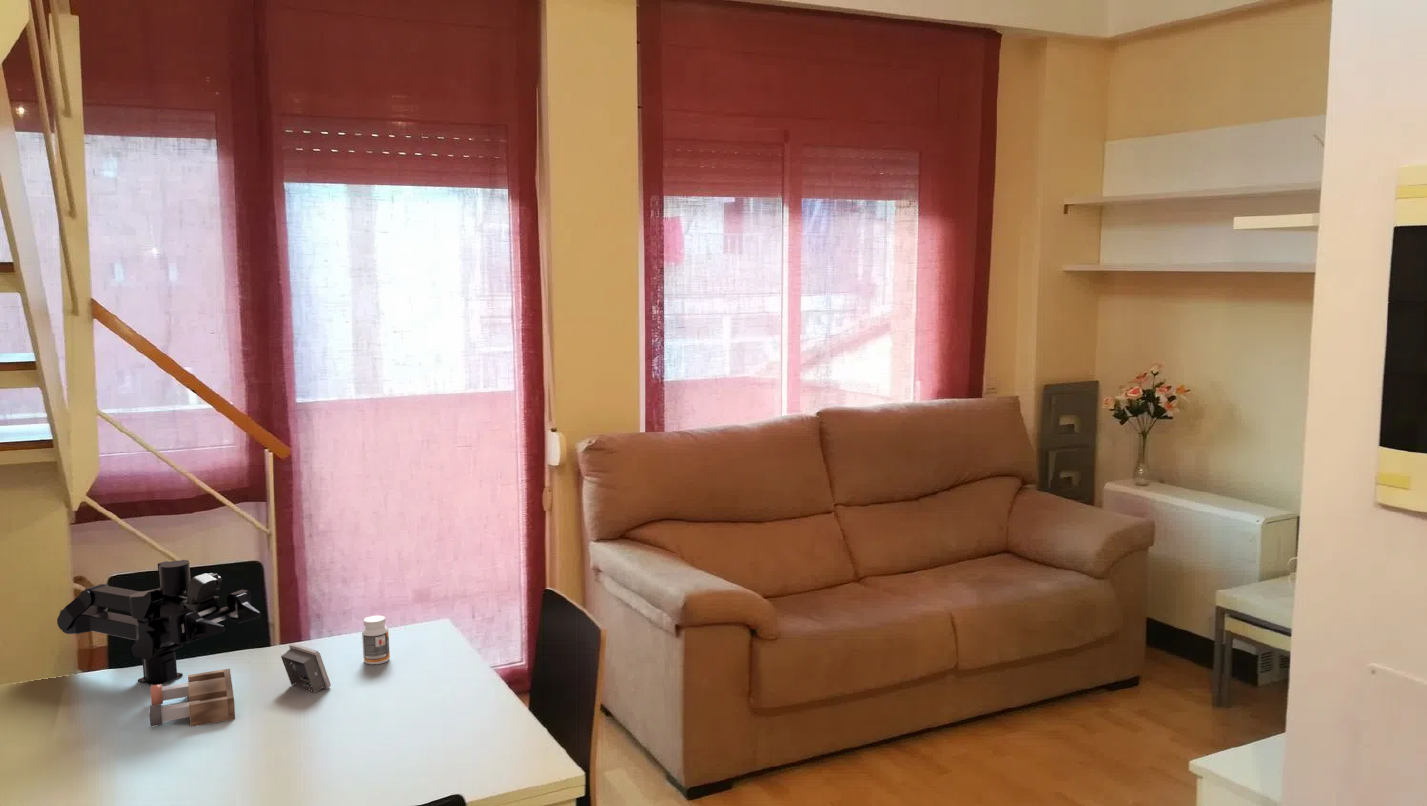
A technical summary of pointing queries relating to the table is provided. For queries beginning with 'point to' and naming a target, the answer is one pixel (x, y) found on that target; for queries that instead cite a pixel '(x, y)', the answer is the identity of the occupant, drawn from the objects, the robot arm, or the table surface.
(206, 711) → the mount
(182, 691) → the red knob
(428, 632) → the table surface
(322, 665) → the electrical switch
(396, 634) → the table surface
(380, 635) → the pill bottle
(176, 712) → the white and gray knob
